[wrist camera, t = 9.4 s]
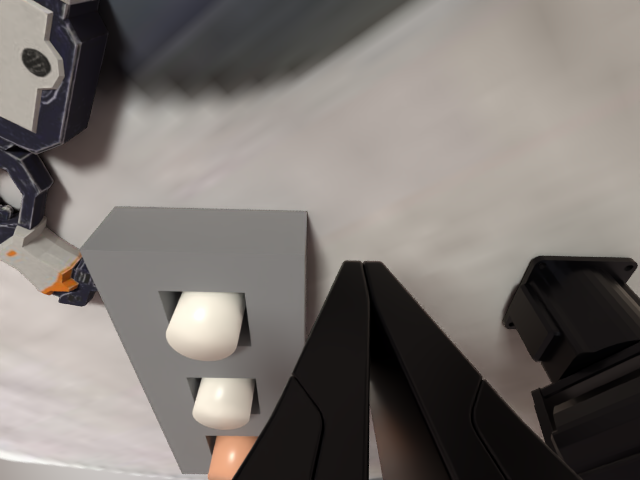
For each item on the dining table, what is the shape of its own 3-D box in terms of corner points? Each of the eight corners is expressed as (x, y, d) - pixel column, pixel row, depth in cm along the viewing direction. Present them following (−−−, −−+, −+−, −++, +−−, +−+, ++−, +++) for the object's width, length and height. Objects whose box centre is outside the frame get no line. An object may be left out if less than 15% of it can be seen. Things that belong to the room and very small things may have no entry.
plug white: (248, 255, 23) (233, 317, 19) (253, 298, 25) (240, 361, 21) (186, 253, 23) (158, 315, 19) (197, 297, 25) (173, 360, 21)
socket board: (307, 211, 22) (304, 255, 18) (304, 430, 37) (303, 475, 34) (115, 206, 21) (79, 250, 18) (194, 429, 37) (182, 473, 34)
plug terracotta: (262, 404, 32) (254, 468, 28) (265, 426, 34) (258, 488, 30) (218, 404, 32) (204, 467, 28) (224, 426, 34) (211, 487, 30)
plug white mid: (257, 337, 28) (247, 401, 24) (260, 367, 30) (251, 430, 26) (206, 336, 28) (187, 400, 24) (213, 367, 30) (197, 429, 26)
